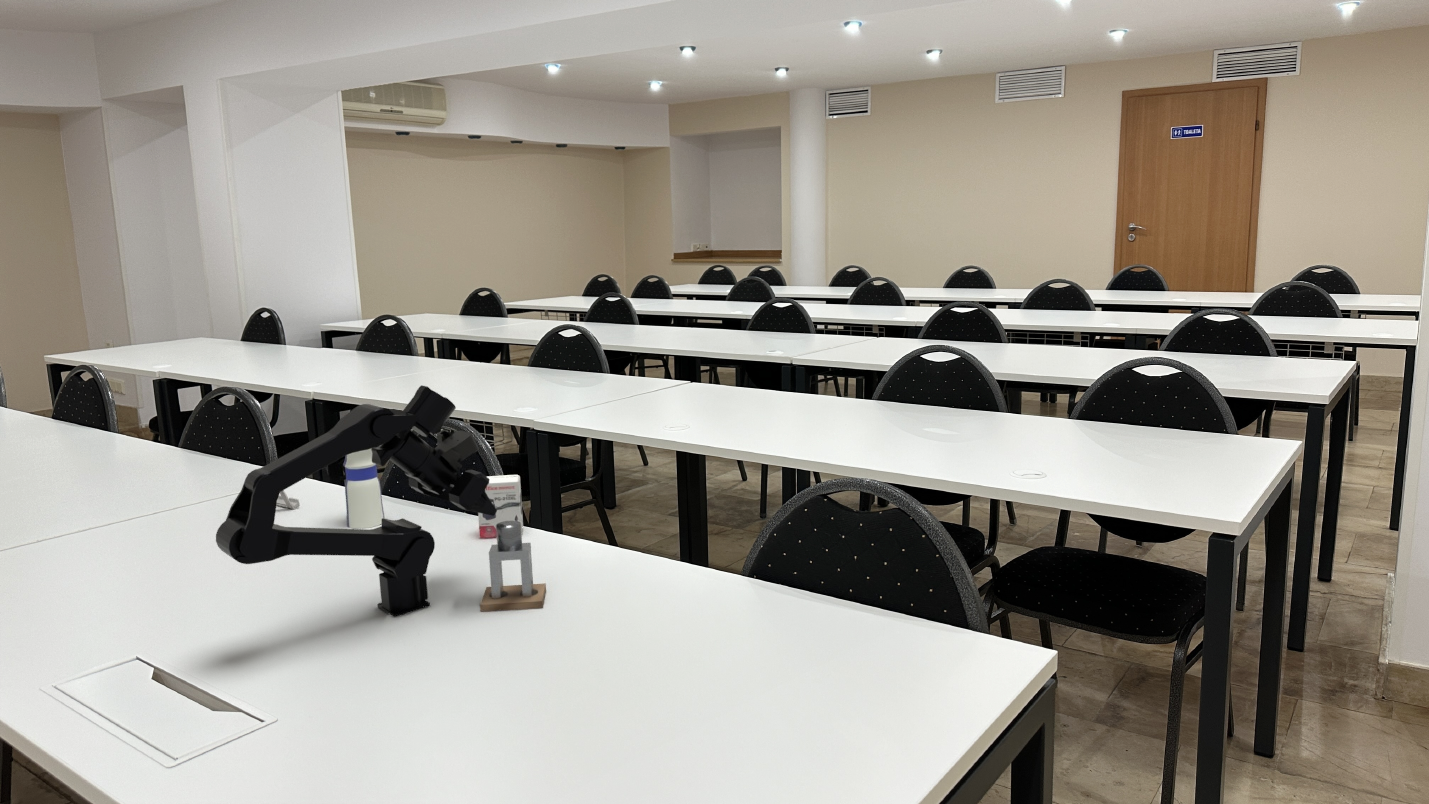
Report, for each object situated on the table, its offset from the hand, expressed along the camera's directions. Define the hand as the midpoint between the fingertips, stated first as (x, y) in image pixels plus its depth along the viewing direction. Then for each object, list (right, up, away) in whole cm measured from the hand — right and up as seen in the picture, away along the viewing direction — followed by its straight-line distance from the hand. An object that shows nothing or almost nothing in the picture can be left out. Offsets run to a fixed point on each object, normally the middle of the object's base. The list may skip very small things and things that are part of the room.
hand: (481, 508), depth 168 cm
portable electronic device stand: (-60, -6, +51) cm, 79 cm away
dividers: (+7, -14, -7) cm, 17 cm away
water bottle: (-34, -8, +39) cm, 53 cm away
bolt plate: (+7, -15, -6) cm, 18 cm away
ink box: (-3, -9, +29) cm, 31 cm away
